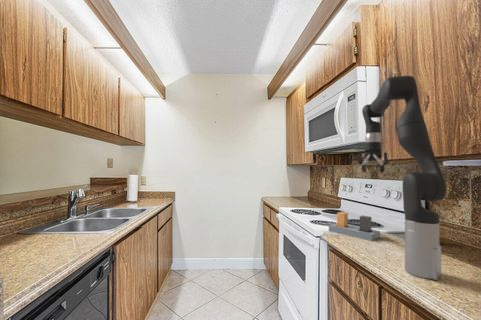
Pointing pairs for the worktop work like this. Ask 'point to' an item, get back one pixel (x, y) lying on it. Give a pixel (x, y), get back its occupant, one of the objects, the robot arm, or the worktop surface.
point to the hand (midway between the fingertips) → (373, 172)
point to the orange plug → (342, 219)
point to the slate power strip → (358, 229)
